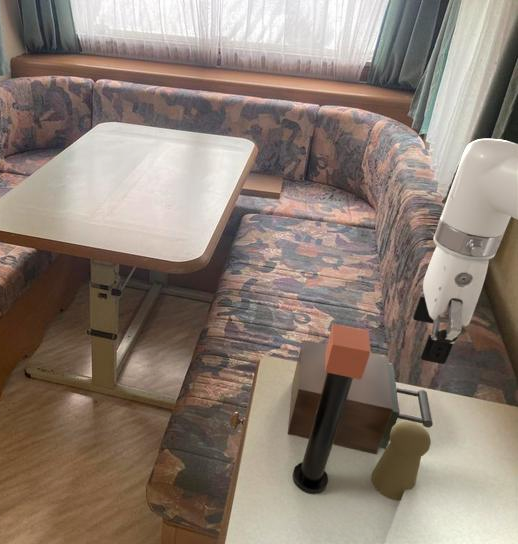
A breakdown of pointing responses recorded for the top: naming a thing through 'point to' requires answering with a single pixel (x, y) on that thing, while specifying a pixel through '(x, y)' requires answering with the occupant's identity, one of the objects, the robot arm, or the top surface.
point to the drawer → (424, 410)
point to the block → (347, 351)
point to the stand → (322, 435)
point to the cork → (401, 459)
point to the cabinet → (359, 405)
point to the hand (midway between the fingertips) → (427, 339)
